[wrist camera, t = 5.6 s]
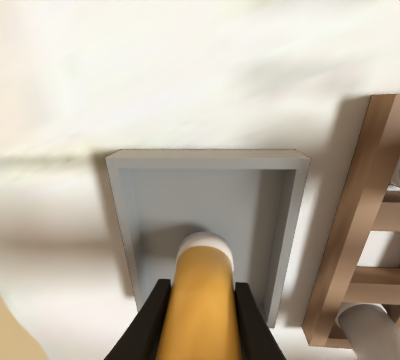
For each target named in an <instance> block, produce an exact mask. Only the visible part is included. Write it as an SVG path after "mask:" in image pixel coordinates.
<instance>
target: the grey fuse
mask: <svg viewBox="0 0 400 360" xmlns="http://www.w3.org/2000/svg"><path fill="white" fill-rule="evenodd" d="M335 321H336V323H337V325H338V326H339V327H340V328H341V329H342V331H343V333H344V335H345V336H346V338H347V340H348V342H349V344H350V345H351V347H352V349H353V351H354V353H355V354H356V356H357V358H358V360H400V329H399V328H398V327H397V326H396V324H395V323H394V322H393V321H392V319H391V318H390V317H389V316H388V315H387V312H386V310H385V309H384V307H383V306H382V305H381V304H373V303H354V302H342V303H341V306H340V308H339V311H338V313H337V316H336V318H335Z"/></svg>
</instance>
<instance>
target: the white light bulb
mask: <svg viewBox="0 0 400 360" xmlns="http://www.w3.org/2000/svg"><path fill="white" fill-rule="evenodd" d="M390 183H391V184H393V185H395V186H397V187H399V188H400V158H399V160H398V163H397V165H396V168H395V170H394V173H393V175H392V178H391V180H390Z"/></svg>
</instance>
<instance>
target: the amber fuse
mask: <svg viewBox="0 0 400 360" xmlns="http://www.w3.org/2000/svg"><path fill="white" fill-rule="evenodd" d="M175 267H176V270H175V274H174V278H173V283H172V287H171V292H170V296H169V301H168V305H167V310H166V314H165V318H164V323H163V327H162V332H161V336H160V341H159V345H158V350H157V354H156V358H155V360H242V352H241V343H240V334H239V325H238V316H237V307H236V298H235V289H234V280H233V270H234V265H233V257H232V250H231V247H230V245H229V243H228V242H227V241H226V240H225V239H224V238H223V237H221V236H220V235H218V234H215V233H212V232H196V233H193V234H190V235H189V236H187V237H186V238H185V239H183V241H182V242H181V244H180V246H179V249H178V254H177V258H176V263H175Z"/></svg>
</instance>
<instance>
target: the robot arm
mask: <svg viewBox="0 0 400 360" xmlns="http://www.w3.org/2000/svg"><path fill="white" fill-rule="evenodd" d="M170 292H171V280H170V279H158V281H157V283H156V284H155V286H154V288H153V290H152V292H151V293H150V295H149V297H148V298H147V300H146V301H145V303H144V305H143V306H142V308H141V309H140V311H139V312H138V314H137V315H136V317H135V318H134V320H133V321H132V323H131V324H130V326H129V327H128V328H127V330H126V331H125V333H124V334H123V335H122V337H121V338H120V340H119V341H118V342H117V343H116V345H115V346H114V347H113V349H112V350H111V351H110V353H109V354H108V355H107V356H106V357H105V359H104V360H155V358H156V354H157V350H158V345H159V341H160V336H161V332H162V327H163V323H164V318H165V314H166V310H167V305H168V301H169V296H170ZM235 298H236V307H237V316H238V325H239V334H240V343H241V352H242V360H286V358H285V357H284V355H283V353H282V351H281V350H280V348H279V346H278V344H277V343H276V341H275V339H274V337H273V335H272V334H271V332H270V330H269V328H268V326H267V324H266V322H265V320H264V318H263V316H262V314H261V312H260V310H259V308H258V306H257V303H256V301H255V299H254V297H253V294H252V292H251V289H250V286H249V284H248V283H245V282H235Z"/></svg>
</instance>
